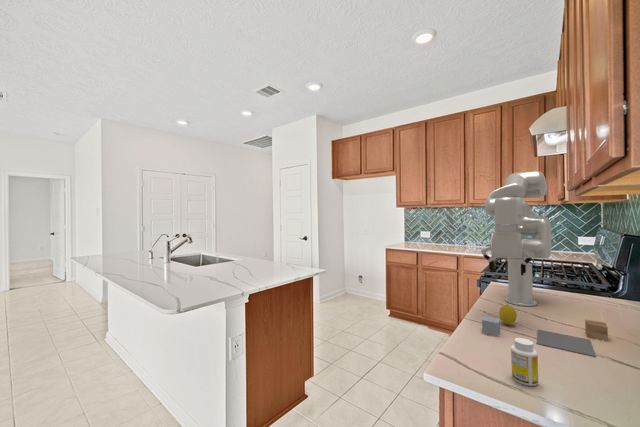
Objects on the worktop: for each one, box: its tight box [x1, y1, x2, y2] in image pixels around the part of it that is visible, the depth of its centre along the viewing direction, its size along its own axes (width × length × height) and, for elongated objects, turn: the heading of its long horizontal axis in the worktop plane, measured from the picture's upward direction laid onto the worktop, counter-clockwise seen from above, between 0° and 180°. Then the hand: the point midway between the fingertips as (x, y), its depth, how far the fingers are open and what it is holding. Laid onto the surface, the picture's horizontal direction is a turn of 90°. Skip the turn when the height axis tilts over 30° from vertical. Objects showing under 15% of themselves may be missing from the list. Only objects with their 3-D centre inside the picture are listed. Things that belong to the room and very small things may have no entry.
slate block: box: [481, 315, 501, 338], centre depth 100 cm, size 5×5×5 cm
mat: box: [536, 329, 597, 358], centre depth 92 cm, size 14×14×1 cm
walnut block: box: [584, 318, 609, 342], centre depth 96 cm, size 5×5×5 cm
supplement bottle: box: [510, 337, 539, 387], centre depth 72 cm, size 6×6×10 cm
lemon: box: [498, 304, 517, 326], centre depth 107 cm, size 6×6×8 cm
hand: (507, 273), depth 107 cm, fingers open, 9 cm apart
